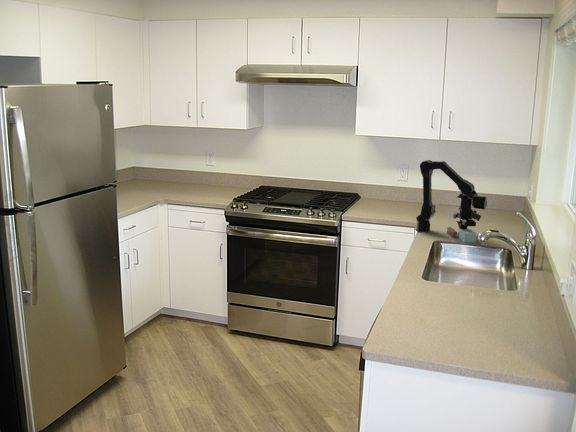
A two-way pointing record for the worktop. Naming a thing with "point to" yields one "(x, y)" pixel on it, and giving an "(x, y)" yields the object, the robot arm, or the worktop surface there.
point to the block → (467, 235)
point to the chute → (452, 232)
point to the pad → (464, 242)
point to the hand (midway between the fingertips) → (462, 234)
